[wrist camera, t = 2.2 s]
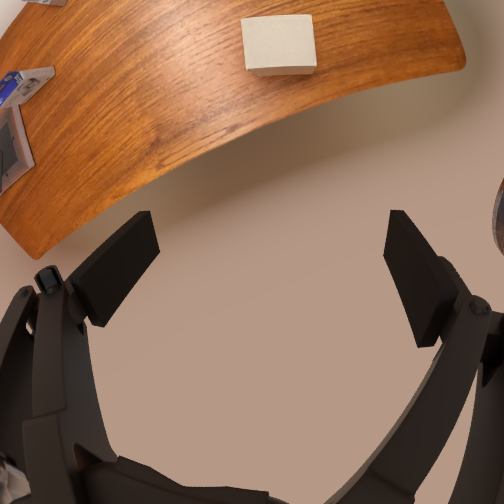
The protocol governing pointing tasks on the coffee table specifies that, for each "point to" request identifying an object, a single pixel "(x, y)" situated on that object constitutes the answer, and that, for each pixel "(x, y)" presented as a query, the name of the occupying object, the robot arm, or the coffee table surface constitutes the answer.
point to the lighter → (50, 2)
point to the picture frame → (13, 148)
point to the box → (279, 45)
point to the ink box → (22, 85)
